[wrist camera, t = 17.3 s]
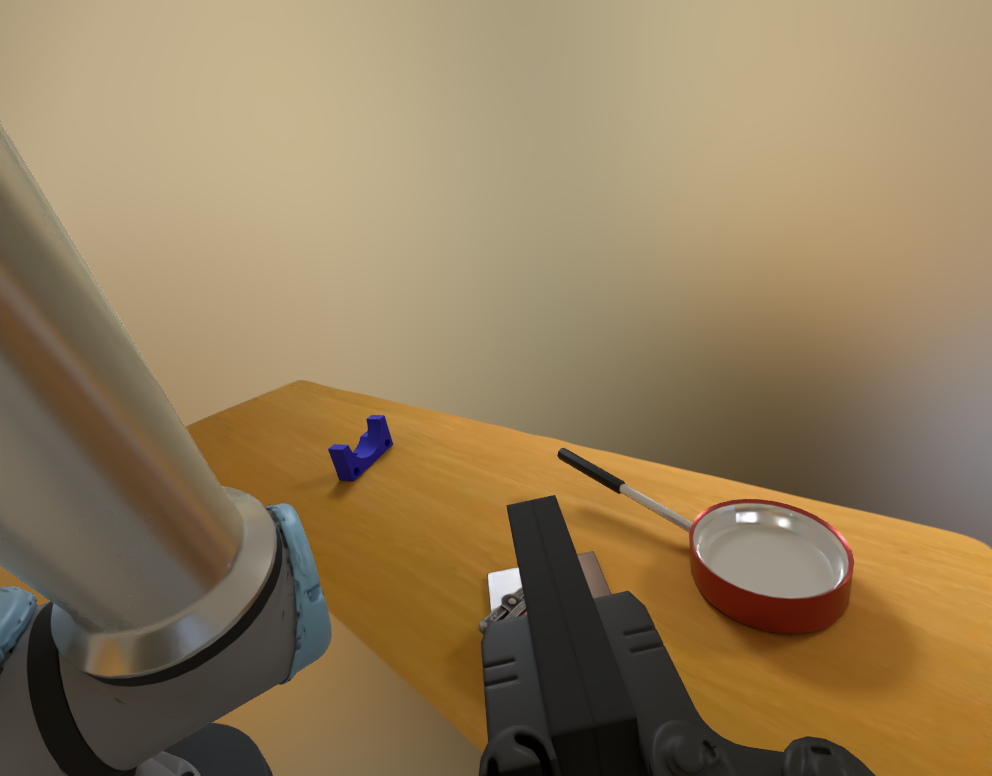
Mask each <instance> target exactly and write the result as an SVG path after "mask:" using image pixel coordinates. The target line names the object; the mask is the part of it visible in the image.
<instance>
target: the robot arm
mask: <svg viewBox="0 0 992 776" xmlns="http://www.w3.org/2000/svg"><path fill="white" fill-rule="evenodd" d="M506 506H507V511H508V516H509V522H510V527H511V532H512V537H513V542H514V548H515V553H516V558H517V563H518V568H519V574H520V579H521V584H522V589H523V594H524V600H525V605H526V610H527V614H526V615H521V616H516V617H512V618H507V619H503V620H498V621H493V622H489V623H488V624H487V627H486V630H485V633H484V636H483V639H482V641H481V651H482V664H483V678H484V691H485V705H486V719H487V732H488V744H487V746H486V748H485V750H484V752H483V755H482V757H481V761H480V769H479V776H875V775H874V774H873V773H872V772H871V771H870V770H869V769H868V768H867V767H866V766H865V765H864V764H863V763H862V762H861V761H860V760H859V759H858V758H856V757H855V756H854V755H853V754H851V753H850V752H849V751H848V750H846V749H845V748H844V747H842V746H839V745H837V744H835V743H833V742H831V741H828V740H826V739H822V738H815V737H808V736H807V737H804V738H800V739H796V740H793V741H792V742H791V743H790V745H789V746H788V747H787V748H786V749H785V750H784V752H778V751H772V750H765V749H758V748H751V747H746V746H742V745H739V744H735V743H733V742H731V741H729V740H727V739H725V738H723V737H721V736H720V735H719V734H717V733H716V732H715V731H713V730H712V729H711V728H710V727H709V726H708V725H707V724H706V723H705V722H704V721H703V720H702V718H701V717H700V715H699V713H698V712H697V710H696V709H695V707H694V705H693V703H692V701H691V699H690V697H689V694H688V692H687V690H686V688H685V686H684V684H683V682H682V680H681V678H680V676H679V674H678V672H677V670H676V668H675V666H674V664H673V662H672V660H671V658H670V656H669V654H668V652H667V650H666V648H665V646H664V645H663V642H662V640H661V637H660V635H659V633H658V631H657V629H655V625H654V623H653V621H652V619H651V617H650V615H649V613H648V611H647V609H646V607H645V605H643V604H642V603H641V602H640V601H639V600H638V599H637V598H636V597H635V596H634V595H632V594H631V593H630V592H629V591H625V592H621V593H616V594H612V595H607V596H602V597H598V598H593V597H592V594H591V591H590V589H589V586H588V583H587V580H586V578H585V575H584V572H583V570H582V567H581V564H580V561H579V559H578V556H577V553H576V551H575V548H574V545H573V542H572V540H571V537H570V534H569V532H568V529H567V526H566V523H565V521H564V518H563V515H562V513H561V510H560V507H559V504H558V502H557V499H556V496H555V495H553V496H548V497H544V498H539V499H534V500H530V501H525V502H520V503H516V504H511V505H506ZM0 566H2V567H3V568H4V569H6V570H7V571H9V572H10V573H12V574H13V575H14V576H16V577H17V578H19V579H20V580H21V581H23V582H24V583H26V584H27V585H29V586H30V587H31V588H33V589H34V590H36V591H37V592H38V593H40V594H41V595H43V596H44V597H45V598H47V599H49V600H50V602H47V603H45V604H42V605H37V604H36V602H37V599H36V597H35V596H34V595H33V593H30V592H25V591H24V590H23V589H21V588H19V587H15V586H7V587H3V588H0V776H202V774H201V773H200V772H199V771H198V770H197V769H196V768H195V767H194V766H192V765H191V764H190V763H189V762H187V761H186V760H184V759H182V758H179V757H177V756H174V755H171V754H169V753H166V752H164V750H165V749H167V748H169V747H170V746H172V745H174V744H176V743H177V742H179V741H181V740H183V739H184V738H186V737H188V736H189V735H191V734H193V733H195V732H196V731H198V730H200V729H202V728H203V727H205V726H207V725H208V724H210V723H212V722H214V721H215V720H217V719H219V718H221V717H222V716H224V715H226V714H227V713H229V712H231V711H233V710H234V709H236V708H238V707H239V706H241V705H243V704H245V703H246V702H248V701H250V700H252V699H253V698H255V697H257V696H259V695H260V694H262V693H264V692H265V691H267V690H269V689H271V688H272V687H274V686H276V685H278V684H284V683H286V682H288V681H290V680H291V679H292V678H293V676H294V675H295V674H296V673H297V672H299V671H300V670H302V669H303V668H305V667H306V666H308V665H309V664H311V663H313V662H314V661H316V660H317V659H319V658H320V657H321V656H322V655H323V654H324V653H325V651H326V650H327V648H328V646H329V644H330V641H331V624H330V618H329V613H328V608H327V604H326V601H325V597H324V594H323V591H322V588H321V587H320V581H319V577H318V572H317V568H316V565H315V562H314V558H313V555H312V552H311V549H310V546H309V543H308V540H307V537H306V535H305V532H304V529H303V527H302V524H301V522H300V519H299V517H298V515H297V513H296V511H295V509H294V508H293V507H292V506H291V505H288V504H285V503H283V504H278V505H275V506H274V505H269V506H267V507H264V506H263V505H262V504H261V502H260V501H258V500H257V499H256V498H254V497H253V496H252V495H250V494H247V493H245V492H243V491H240V490H237V489H234V488H228V487H221V485H220V484H219V482H218V480H217V479H216V477H215V475H214V474H213V472H212V470H211V469H210V467H209V465H208V464H207V462H206V460H205V459H204V457H203V456H202V454H201V452H200V451H199V449H198V447H197V446H196V444H195V442H194V441H193V439H192V437H191V436H190V434H189V432H188V431H187V429H186V427H185V426H184V424H183V422H182V421H181V420H180V417H179V416H178V414H177V413H176V411H175V409H174V408H173V406H172V404H171V403H170V401H169V399H168V398H167V396H166V394H165V393H164V391H163V389H162V388H161V386H160V385H159V383H158V381H157V379H156V378H155V376H154V374H153V373H152V371H151V370H150V368H149V366H148V365H147V363H146V362H145V360H144V358H143V356H142V355H141V353H140V352H139V350H138V348H137V346H136V345H135V343H134V342H133V340H132V338H131V336H130V335H129V333H128V331H127V330H126V328H125V327H124V325H123V323H122V322H121V320H120V319H119V317H118V315H117V313H116V312H115V310H114V308H113V307H112V305H111V303H110V302H109V300H108V298H107V297H106V295H105V293H104V292H103V290H102V289H101V287H100V285H99V284H98V282H97V281H96V279H95V277H94V275H93V274H92V272H91V270H90V269H89V267H88V265H87V264H86V262H85V260H84V259H83V257H82V255H81V254H80V252H79V250H78V249H77V247H76V246H75V244H74V242H73V241H72V239H71V237H70V236H69V234H68V232H67V231H66V229H65V227H64V226H63V224H62V222H61V221H60V219H59V217H58V216H57V214H56V212H55V211H54V209H53V208H52V206H51V204H50V202H49V201H48V199H47V198H46V196H45V194H44V193H43V191H42V189H41V188H40V186H39V184H38V183H37V181H36V179H35V178H34V176H33V175H32V173H31V171H30V169H29V168H28V166H27V164H26V163H25V161H24V160H23V158H22V156H21V155H20V153H19V151H18V150H17V148H16V146H15V145H14V143H13V141H12V140H11V138H10V136H9V135H8V133H7V131H6V130H5V128H4V126H3V125H2V123H1V121H0Z"/></svg>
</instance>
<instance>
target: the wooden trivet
mask: <svg viewBox="0 0 992 776" xmlns="http://www.w3.org/2000/svg"><path fill="white" fill-rule="evenodd" d="M577 556H578V559H579V561H580V564H581V567H582V570H583V572H584V575H585V578H586V580H587V583H588V586H589V589H590V591H591V594H592V597H593V598H598V597H602V596H607V595H611V592H610V590H609V587H608V585H607V583H606V580H605V578H604V575H603V573H602V571H601V568H600V566H599V563H598V561H597V559H596V556H595V554H594V552H593V551H592V552H587V553H583V554H578V555H577ZM487 577H488V587H489V598H490V608H491V612H492V611H493V610H494V609H497V608H498V607H499V606H500V605H501V598H502V597H503V596H504V595H506V594H514V593H515V592H516V591H517V590H518V589H519V588H521V587H522V584H521V579H520V574H519V568H518V567H517V568H513V569H508V570H503V571H499V572H494V573H489V574H487Z"/></svg>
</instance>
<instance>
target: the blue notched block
mask: <svg viewBox="0 0 992 776" xmlns="http://www.w3.org/2000/svg"><path fill="white" fill-rule="evenodd" d="M366 420H367V424H368V431H367V432H366V433H364V434H363V435H362V436H361V438H360V441H359V444H358V446H357V448H356V449H355V450H354V452H353V453H352V451H351V450H350V448H349V445H335V444H334V445H333V446H332V447H330V448H329V449H328V450H329V453H330V456H331V458H332V461H333V464H334V467H335V469H336V472H337V475H338V477H339V480H345V481H354V480H355V479H356V478H357V477H359V476H360V475H361V474H362V473H363V472H364V471H365V470H366V469H367V468H368V467H369V466H370V465H371V464H372V463H373V462H374V461H376V460H377V459H378V458H379V457H380V456H381V455H382V454H383V453H384V452H385V451H386V450H387V449H388V448H389V447H390V446H392V445H393V442H392V439H391V435H390V432H389V429H388V426H387V422H386V419H385V416H384V415H371V416H370V417H368V418H367V419H366Z"/></svg>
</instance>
